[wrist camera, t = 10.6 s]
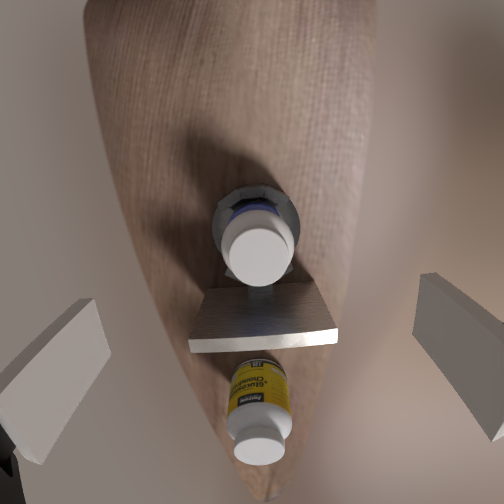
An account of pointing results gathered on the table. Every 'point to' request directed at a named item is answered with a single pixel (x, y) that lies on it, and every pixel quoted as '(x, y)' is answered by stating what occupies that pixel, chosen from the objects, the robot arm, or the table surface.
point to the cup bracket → (260, 296)
